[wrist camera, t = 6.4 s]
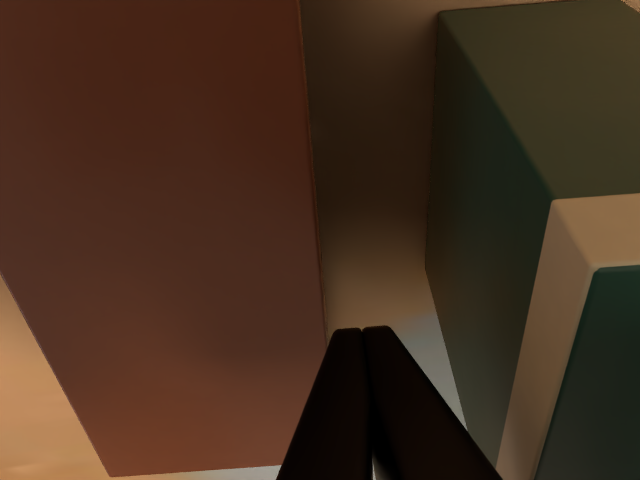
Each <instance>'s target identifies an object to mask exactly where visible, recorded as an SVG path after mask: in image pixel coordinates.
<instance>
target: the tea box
mask: <svg viewBox="0 0 640 480" xmlns="http://www.w3.org/2000/svg"><path fill="white" fill-rule="evenodd" d="M425 270H426V274H427V277H428V281H429V285H430V289H431V293H432V296H433V300H434V304H435V308H436V312H437V316H438V319H439V323H440V327H441V331H442V335H443V338H444V342H445V346H446V350H447V354H448V357H449V361H450V365H451V369H452V373H453V376H454V380H455V384H456V388H457V392H458V396H459V399H460V403H461V407H462V411H463V415H464V418H465V422H466V426H467V430H468V433H469V434H470V436H471V437H472V438H473V440H474V441H475V442H476V444H477V445H478V446H479V448H480V449H481V450H482V452H483V453H484V454H485V456H486V457H487V459H488V460H489V461H490V463H491V464H492V465H493V467H494V468H495V469H496V471H497V472H498V473H499V475H500V476H501V477H502V479H503V480H640V13H639V12H637V11H636V10H634V9H633V8H631V7H630V6H628V5H627V4H626V3H624V2H623V1H621V0H576V1H564V2H551V3H539V4H527V5H515V6H502V7H490V8H478V9H465V10H453V11H442V12H440V13H439V16H438V33H437V52H436V71H435V89H434V108H433V127H432V146H431V164H430V183H429V202H428V221H427V239H426V258H425Z"/></svg>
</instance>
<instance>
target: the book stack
mask: <svg viewBox="0 0 640 480" xmlns="http://www.w3.org/2000/svg"><path fill="white" fill-rule="evenodd" d="M0 274H1V276H2V277H3V279H4V281H5V283H6V285H7V287H8V289H9V290H10V292H11V294H12V296H13V298H14V300H15V302H16V304H17V305H18V307H19V309H20V311H21V313H22V315H23V317H24V318H25V320H26V322H27V324H28V326H29V328H30V330H31V331H32V333H33V335H34V337H35V339H36V341H37V343H38V344H39V346H40V348H41V350H42V352H43V354H44V356H45V358H46V359H47V361H48V363H49V365H50V367H51V369H52V371H53V372H54V374H55V376H56V378H57V380H58V382H59V384H60V385H61V387H62V389H63V391H64V393H65V395H66V397H67V399H68V400H69V402H70V404H71V406H72V408H73V410H74V412H75V413H76V415H77V417H78V419H79V421H80V423H81V425H82V426H83V428H84V430H85V432H86V434H87V436H88V438H89V440H90V441H91V443H92V445H93V447H94V449H95V451H96V453H97V454H98V456H99V458H100V460H101V462H102V464H103V466H104V467H105V469H106V471H107V473H108V475H109V476H110V477H122V476H136V475H150V474H164V473H178V472H191V471H205V470H219V469H233V468H247V467H261V466H275V465H282V463H283V460H284V458H285V455H286V453H287V450H288V448H289V445H290V442H291V440H292V437H293V435H294V432H295V430H296V427H297V424H298V422H299V419H300V417H301V414H302V412H303V409H304V407H305V404H306V401H307V399H308V396H309V394H310V391H311V389H312V386H313V383H314V381H315V378H316V376H317V373H318V371H319V368H320V365H321V363H322V360H323V358H324V355H325V353H326V350H327V347H328V345H329V340H328V328H327V317H326V305H325V293H324V282H323V270H322V258H321V246H320V235H319V223H318V211H317V200H316V188H315V176H314V165H313V153H312V141H311V129H310V118H309V106H308V94H307V83H306V71H305V59H304V48H303V36H302V24H301V12H300V1H299V0H0Z"/></svg>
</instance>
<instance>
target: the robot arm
mask: <svg viewBox="0 0 640 480" xmlns="http://www.w3.org/2000/svg"><path fill="white" fill-rule="evenodd" d="M372 458H373V460H372ZM373 466H374V472H375V477H376V480H503V479H502V477H501V476H500V475H499V473H498V472H497V471H496V469H495V468H494V467H493V465H492V464H491V463H490V461H489V460H488V459H487V457H486V456H485V454H484V453H483V452H482V450H481V449H480V448H479V446H478V445H477V444H476V442H475V441H474V440H473V438H472V437H471V436H470V434H469V433H468V431H467V430H466V429H465V427H464V426H463V425H462V423H461V422H460V421H459V419H458V418H457V417H456V415H455V414H454V412H453V411H452V410H451V408H450V407H449V406H448V404H447V403H446V402H445V400H444V399H443V398H442V396H441V395H440V394H439V392H438V391H437V389H436V388H435V387H434V385H433V384H432V383H431V381H430V380H429V379H428V377H427V376H426V375H425V373H424V372H423V371H422V369H421V368H420V366H419V365H418V364H417V362H416V361H415V360H414V358H413V357H412V356H411V354H410V353H409V352H408V350H407V349H406V347H405V346H404V345H403V343H402V342H401V341H400V339H399V338H398V337H397V335H396V334H395V333H394V331H393V330H392V329H391V328H390V327H389V326H385V325H384V326H371V327H365V328H364V329H363V331H362V330H361V329H360V328H344V329H337V330H335V331H334V333H333V335H332V337H331V340H330V342H329V345H328V347H327V350H326V353H325V355H324V358H323V360H322V363H321V365H320V368H319V371H318V373H317V376H316V378H315V381H314V383H313V386H312V389H311V391H310V394H309V396H308V399H307V401H306V404H305V407H304V409H303V412H302V414H301V417H300V419H299V422H298V424H297V427H296V430H295V432H294V435H293V437H292V440H291V442H290V445H289V448H288V450H287V453H286V455H285V458H284V460H283V463H282V466H281V468H280V471H279V473H278V476H277V478H276V480H373Z"/></svg>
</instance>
